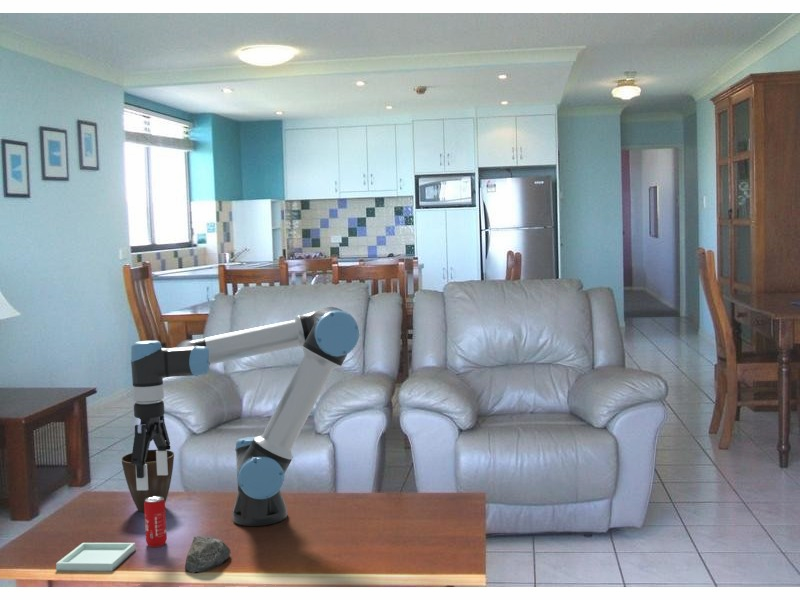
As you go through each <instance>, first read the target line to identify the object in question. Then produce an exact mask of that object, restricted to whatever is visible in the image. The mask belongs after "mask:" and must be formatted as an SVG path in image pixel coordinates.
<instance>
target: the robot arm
mask: <svg viewBox="0 0 800 600" xmlns="http://www.w3.org/2000/svg"><path fill="white" fill-rule="evenodd" d="M359 336H360V330H359V326H358V323H357V321H356V319H355V318H354V317H353V315H351V314H350V313H349V312H347V311H345V310H343V309H340V308H337V307H333V306H330V307H324V308H320V309H316V310H314V311H311V312H307V313H303V314H298V315H297V316H296V317H295V318H294V319H292V320H287V321H282V322H277V323H273V324H272V323H271V324H267V325H263V326H262V325H261V326H257V327H252V328H247V329H244V330H237V331H232V332H227V333H223V334H222V333H221V334H217V335H212V336H208V337H203V338H198V339H186V340H183V341H181V342H180V343H178V344H177V345H176V347H163V346H162V343H161V341H159V340H140V341H136V342H133V344H132V345H131V347H130V350H131V352H130V355H131V357H130V358H131V359H130V363H131V364H130V365H131V367H130V368H131V378H132V380H131V381H132V388H131V392H132V395H133V401H134V402H133V403H134V404H133V416H134V418H136V419H139V420H140V424H135V425H134V437H133V443H132V444H133V445H132V452H131V453H132V459H131V465H136V484H137V490H148V473H147V464H145V462H146V458H147V454H148V450H150V449H149V448H150V445H151V442H152V441H153V443H154V445H155V447H156V450H159V451H156V462H157V475H168V464H167V451H166V450H169V451H171V445H170V444H171V442H170V438H169V434H168V430H167V427H166V423H165V416H164V415H165V402H164V399H165V395H164V394H165V393H164V391H165V390H164V380H163V379H164V378H170V377H191V376H192V377H193V376H194V377H198V376H204V375H208V374H209V373H210V365H215V364H219V363H224V362H229V361H234V360H238V359H243V358H249V357H252V356H258V355H263V354H269V353H273V352H274V353H275V352H279V351H283V350H288V349H293V348H298V347H301V348H302V350H303V357H302V358H301V361H300V362H299V364H298V366H297V368H296V370H295V371H294V374H293V375H292V377H291V380H290V381H289V383H288V385H287V387H286V389H285V391H284V392H283V394H282V397H281V398H280V400H279V402H278V404H277V406H276V408H275V409H274V412H273V414H272V415H271V417H270V419H269V421H268V423H267V425H266V426H265V428H264V431H263V432H262V434H260V435H258V436H257V435H256V436H248V437H242V438H238V439H237V440H236V442H235V449H234V450H235V457H236V458H235V459H236V481H237V495H236V497H235V501H234V502H235V503H234V506H233V510H232V521H233V523H235V524H236V525H240V526H244V527H262V526H268V525H274V524H277V523H280V522H282V521H284V520H285V519H287V517H288V509H287V505H286V502H285V500H284V497H283V495H282V492H281V489H282V487H283V485H284V481H285V474H286V472H287V470H288V468H289V466H290V464H291V462H292V461H293V458H294V456H293V452H292V448H293V446H294V445H295V442H296V441H297V439H298V437H299V435H300V433H301V431H302V429H303V428H304V425H305V423H306V421H307V419H308V418H309V416H310V414H311V412H312V410H313V409H314V406H315V404H316V403H317V400H318V399H319V397H320V395H321V393H322V391H323V389H324V387H325V386H326V384H327V381H328V380H329V378H330V376H331V374H332V372H333V370H335V369H339V368H341V367H342V365H343V364H344V362H345V360H346V358H347V356H348V354H349V353H351V351H352V350H354V348H356V345H358V342H359Z"/></svg>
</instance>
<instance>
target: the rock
mask: <svg viewBox="0 0 800 600" xmlns="http://www.w3.org/2000/svg"><path fill="white" fill-rule="evenodd" d="M230 554H232V552H231V549H230V548H229V546H228V545H227V544H226V543H224V541H223V540H221V539H219V538H213V537H206V536H205V537H203V536H202V537H201V536H194V537H193V540H192V543H191V545H190V548H189V549H188V553H187V556H186V559H185V565H184V570H185V571H186V572H190V573H192V574H195V573H196V572H198V573H203V572H207V571H209V570H213V569H214V568H217V567H218V566H221V565H223V563H224V562H225V561H226V560H227V559H228V558H230Z"/></svg>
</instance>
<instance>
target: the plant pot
mask: <svg viewBox="0 0 800 600" xmlns="http://www.w3.org/2000/svg"><path fill="white" fill-rule="evenodd" d="M156 451H159V450H158V449H148V454H147V458H146V462H145V464H147V473H148V490H137V484H136V465H131V459H132V452H130V453H128V454H125V455H124V456H122V457H121V458H120V460H121V463H122V470H123V473H124V477H125V481H126V484H127V487H128V490H129V493H130V495H131V498H132V500H133V503H134V505H135V508H136V509H137V511H138V512H140V513H143V514H145V512H144V502H145V499H147V498H149V497H155V496H160V497H163V498H164V501H165V503H166V502H167V499H168V496H169V491H170V486H171V482H172V477H173V469H174V459H175V458H174V457H175V452H173V451H172V450H166V451H167V464H168V475H157V462H156Z"/></svg>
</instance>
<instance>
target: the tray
mask: <svg viewBox="0 0 800 600" xmlns="http://www.w3.org/2000/svg"><path fill="white" fill-rule="evenodd" d="M136 546H137V545H136V542H82V543H81V544H78V546H76V547H75V548H73V550H72V551H70V552H69V553H67V554H66V555H65V556H64V557H62V558H61V559H60V560H58V561H57V562H56V563H55V566H56V571H58V572H59V571H61V572H63V571H65V572H67V571H69V572H70V571H71V572H72V571H75V572H77V571H79V572H80V571H81V572H88V571H89V572H92V571H93V572H113V571H114V570H115V569H116V568H118V566H120V565H121V564H122V563H123V562H124V561H125V560H126V559H127V558H128V557H129V556H131V555H132V554H133V553H134V552H135V551H137V550H136V549H137V547H136Z"/></svg>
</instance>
